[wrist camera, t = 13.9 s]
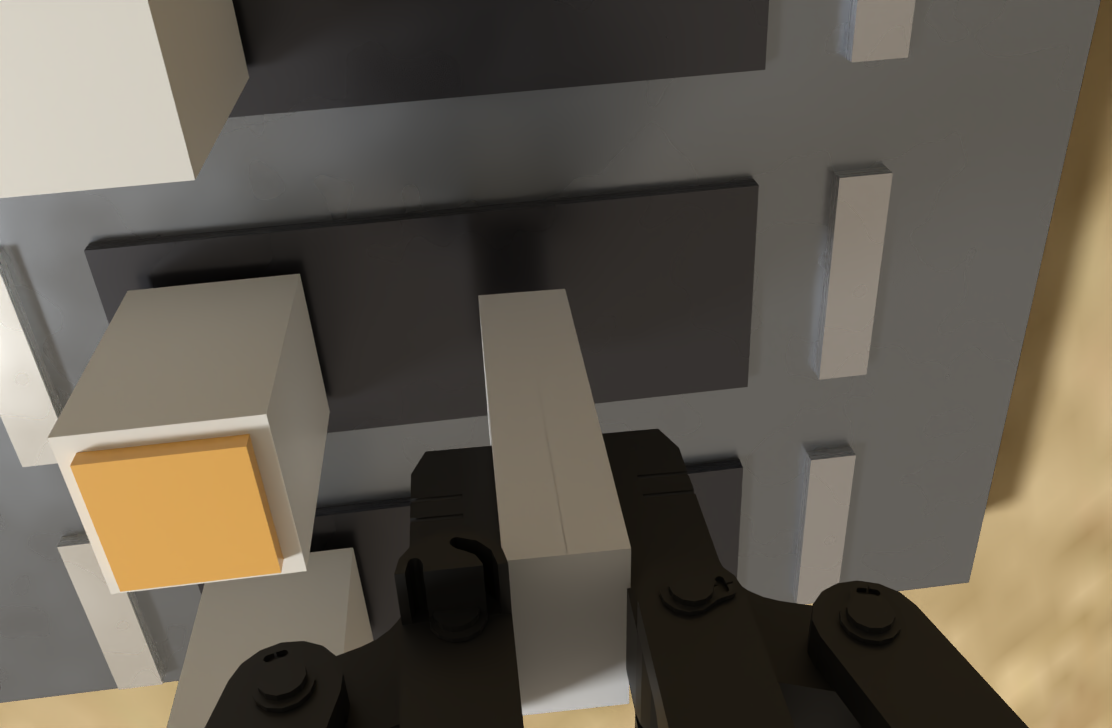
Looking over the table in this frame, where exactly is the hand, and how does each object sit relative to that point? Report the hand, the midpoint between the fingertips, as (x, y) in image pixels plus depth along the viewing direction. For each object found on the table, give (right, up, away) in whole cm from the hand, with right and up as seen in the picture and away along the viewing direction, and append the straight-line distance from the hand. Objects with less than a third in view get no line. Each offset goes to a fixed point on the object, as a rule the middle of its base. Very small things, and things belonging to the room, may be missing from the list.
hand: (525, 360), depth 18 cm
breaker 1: (-6, +6, -3) cm, 9 cm away
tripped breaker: (-5, 0, +1) cm, 5 cm away
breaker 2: (-5, -5, +4) cm, 9 cm away
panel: (-2, +2, +3) cm, 4 cm away
